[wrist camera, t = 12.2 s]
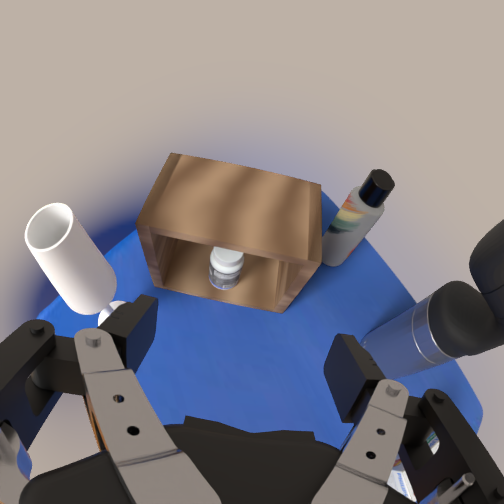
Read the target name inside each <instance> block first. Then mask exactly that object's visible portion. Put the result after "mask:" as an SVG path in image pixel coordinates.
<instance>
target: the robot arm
mask: <svg viewBox="0 0 504 504" xmlns="http://www.w3.org/2000/svg"><path fill="white" fill-rule="evenodd" d="M469 268H470V272H471V275H472V277H473V279H474V281H475V283H476V285H477V287H478V289H479V291H480V292H481V293H480V292H478V291H477V290H476V289H474V288H473V287H472V286H470V285H469V284H467V283H465V282H462V281H451V282H449V283H447V284H445V285H444V286H442V287H441V288H439V289H438V290H437V291H435V292H434V293H432V294H431V295H429V296H428V297H427V298H425V299H424V300H422V301H421V302H419V303H418V304H416V305H414V306H413V307H411V308H410V309H408V310H407V311H405V312H403V313H402V314H400V315H399V316H397V317H395V318H394V319H392V320H390V321H389V322H387V323H385V324H384V325H382V326H380V327H378V328H377V329H375V330H373V331H371V332H370V333H368V334H367V335H366V336H365V337H364V338H363V339H362V341H361V343H360V344H359V343H358V341H357V340H356V338H355V337H354V336H353V335H347V334H337V335H336V336H335V338H334V340H333V343H332V346H331V348H330V351H329V353H328V356H327V358H326V361H325V364H324V375H325V378H326V381H327V383H328V386H329V389H330V391H331V394H332V397H333V399H334V402H335V405H336V407H337V410H338V413H339V415H340V418H341V421H342V423H354V426H353V427H352V429H351V430H350V432H349V434H348V436H347V437H346V439H345V441H344V442H343V444H342V445H341V447H340V449H337V448H335V447H333V446H331V445H329V444H326V443H323V442H320V441H316V440H315V436H314V432H309V431H289V430H281V431H271V432H260V433H250V432H246V431H243V430H240V429H237V428H234V427H231V426H228V425H225V424H222V423H220V422H216V421H210V420H205V419H200V418H195V417H191V416H185V420H184V424H169V425H162V424H161V422H160V420H159V419H158V417H157V415H156V414H155V412H154V410H153V408H152V406H151V405H150V403H149V401H148V399H147V397H146V396H145V394H144V392H143V390H142V388H141V386H140V384H139V382H138V380H137V378H136V376H135V373H136V371H137V370H138V368H139V366H140V364H141V362H142V361H143V359H144V357H145V355H146V353H147V352H148V350H149V348H150V346H151V345H152V343H153V340H154V337H155V332H156V321H157V310H158V299H157V298H154V297H150V296H146V295H143V294H141V295H140V296H139V297H138V298H137V299H136V300H135V301H134V303H131V302H126V303H124V304H121V305H119V306H118V307H117V308H116V309H115V310H114V312H112V313H111V314H110V315H109V316H108V317H107V318H106V319H105V320H104V321H103V322H102V323H101V324H100V325H99V326H98V327H97V328H87V329H83V330H80V331H79V332H77V333H76V334H75V337H74V338H69V337H63V336H57V335H55V329H54V326H53V325H52V324H51V323H50V322H48V321H45V320H40V319H35V320H30V321H27V322H25V323H24V324H22V325H21V326H20V327H19V328H18V329H17V330H15V331H14V332H13V333H12V334H11V335H9V336H8V337H7V338H6V339H5V340H4V341H3V342H1V343H0V504H417V503H418V504H504V477H503V475H502V473H501V472H500V470H499V468H498V467H497V465H496V464H495V462H494V460H493V459H492V457H491V456H490V455H489V453H488V451H487V450H486V448H485V447H484V445H483V444H482V442H481V441H480V439H479V438H478V437H477V435H476V434H475V432H474V431H473V429H472V428H471V426H470V425H469V424H468V422H467V421H466V419H465V418H464V417H463V415H462V414H461V412H460V411H459V410H458V408H457V407H456V406H455V404H454V403H453V402H452V400H451V399H450V398H449V396H448V395H447V394H445V393H444V392H442V391H440V390H437V389H428V390H426V392H425V393H424V395H423V397H422V398H418V397H413V396H409V392H408V390H407V388H406V387H405V386H404V385H402V384H401V383H399V382H397V381H394V380H393V379H396V378H400V377H404V376H407V375H411V374H414V373H417V372H420V371H423V370H426V369H429V368H432V367H435V366H438V365H441V364H444V363H446V362H449V361H452V360H454V359H457V358H460V357H462V356H465V355H468V356H472V355H477V354H480V353H482V352H485V351H487V350H490V349H493V348H496V347H498V346H501V345H503V344H504V220H502V221H501V222H500V223H498V224H497V225H496V226H495V227H494V228H493V229H491V230H490V231H489V232H488V233H487V234H486V235H485V236H484V237H483V238H482V239H481V240H480V241H479V243H478V244H477V246H476V247H475V248H474V250H473V252H472V255H471V257H470V262H469ZM30 374H31V375H30ZM27 378H28V379H27ZM63 393H69V394H75V395H82V397H83V400H84V404H85V407H86V411H87V414H88V417H89V420H90V424H91V427H92V430H93V433H94V435H95V439H96V442H97V445H98V448H99V451H100V452H98V453H96V454H94V455H91V456H89V457H86V458H84V459H81V460H79V461H76V462H74V463H71V464H68V465H65V466H63V467H60V468H57V469H54V470H51V471H48V472H45V473H43V474H40V475H38V476H36V477H34V478H33V479H31V480H30V472H31V469H32V461H31V458H30V456H29V454H28V453H27V451H28V449H29V447H30V445H31V444H32V442H33V440H34V439H35V437H36V435H37V433H38V432H39V430H40V428H41V427H42V425H43V423H44V422H45V420H46V419H47V417H48V415H49V414H50V412H51V411H52V409H53V407H54V406H55V404H56V403H57V401H58V400H59V398H60V397H61V395H62V394H63ZM433 431H434V432H435V434H436V436H437V437H438V439H439V448H438V450H437V451H436V452H435V454H433V452H432V450H431V448H430V447H429V445H428V443H427V441H426V440H427V438H428V437H429V436H430V434H431V433H432V432H433ZM397 454H398V455H399V457H400V460H401V462H402V465H403V467H404V469H405V472H406V474H407V477H408V479H409V482H410V484H411V487H412V490H413V492H414V495H415V497H416V500H417V503H415V502H414V501H412V500H411V499H409V498H407V497H406V496H404V495H403V494H401V493H400V492H398V491H397V490H395V489H394V488H392V487H391V486H389V485H388V484H387V482H388V479H389V476H390V474H391V471H392V468H393V465H394V463H395V460H396V457H397Z"/></svg>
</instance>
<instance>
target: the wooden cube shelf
mask: <svg viewBox="0 0 504 504" xmlns="http://www.w3.org/2000/svg"><path fill="white" fill-rule="evenodd" d="M135 224H136V228H137V232H138V235H139V239H140V242H141V245H142V249H143V252H144V256H145V259H146V262H147V265H148V268H149V271H150V275H151V278H152V281H153V284H154V286H155V287H159V288H163V289H167V290H172V291H176V292H180V293H184V294H189V295H193V296H198V297H202V298H207V299H211V300H216V301H221V302H226V303H230V304H235V305H240V306H245V307H250V308H255V309H261V310H266V311H271V312H277V313H283V312H284V311H285V310H286V308H287V307H288V306H289V305H290V303H291V302H292V301H293V300H294V298H295V297H296V296H297V295H298V293H299V292H300V291H301V289H302V288H303V287H304V286H305V284H306V283H307V282H308V280H309V279H310V278H311V276H312V275H313V274H314V272H315V271H316V270H317V268H318V267H319V266H320V264H321V263H322V203H321V185H320V184H316V183H313V182H308V181H305V180H301V179H297V178H293V177H289V176H285V175H281V174H277V173H273V172H268V171H263V170H260V169H255V168H250V167H246V166H241V165H236V164H231V163H226V162H221V161H215V160H211V159H205V158H200V157H193V156H188V155H182V154H176V153H170V155H169V157H168V159H167V161H166V163H165V164H164V166H163V168H162V170H161V172H160V174H159V176H158V178H157V179H156V181H155V184H154V185H153V187H152V189H151V191H150V193H149V195H148V197H147V199H146V201H145V203H144V206H143V208H142V210H141V212H140V214H139V216H138V218H137V221H136V223H135ZM214 246H215V247H219V248H224V249H229V250H233V251H238V252H243V253H244V264H243V267H242V271H241V274H240V277H239V280H238V283H237V284H236V285H235V286H234V287H233V288H231V289H228V290H221V289H218V288H216V287H214V286H213V285H212V283H211V282H210V280H209V265H210V254H211V252H212V250H213V249H214Z"/></svg>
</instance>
